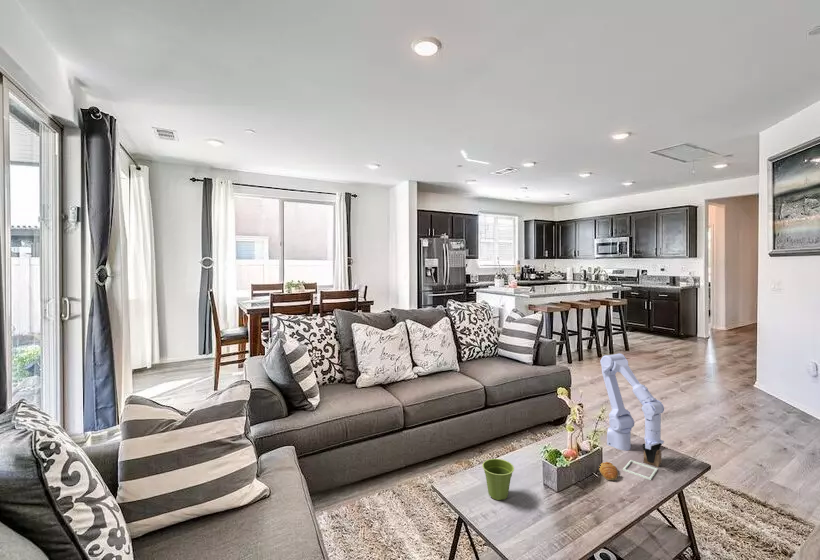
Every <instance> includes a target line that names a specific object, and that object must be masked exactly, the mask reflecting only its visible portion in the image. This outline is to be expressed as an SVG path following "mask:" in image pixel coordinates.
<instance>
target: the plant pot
mask: <svg viewBox="0 0 820 560" xmlns="http://www.w3.org/2000/svg"><path fill="white" fill-rule="evenodd" d="M481 465H482V466H481V467H482V469H483V470H484V476H485V480H486V485H487V486H486V487H487V492H488V495H489V497H490V496H491V497H492V498H491V497H490V498H491V499H493V500H497V501H501V500H506V499H508V496H509V490H510V484H511V478H512V476H513V473H514V471H515V467H514V465H513V464H512V463H511V462H509V461H507V460H505V459H502V458H490V459H485V460H484V461H483V463H482V464H481Z"/></svg>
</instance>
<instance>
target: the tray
mask: <svg viewBox="0 0 820 560" xmlns="http://www.w3.org/2000/svg"><path fill="white" fill-rule="evenodd" d="M631 463H632V464H635V465H638V466H641V467H644V468H648V469H651V470H653V471H652V473H651V474H650V476H646V475H643V474H640V473H638V472H634V471H632V470H629V469H627V468H628V467H629V466H630V465H631ZM622 471H623V472H626V473H629V474H631V475H635V476H637V477H640V478H644V479H645V480H649V481H651V480H652V479H653V477H654V476H655V475H656V473H657V471H658V467H655V466H652V465H649V464H646V463H643V462H638V461H635V460H633V459H630V460H629V461H628V462H627V464H625V466H624V467H623V468H622Z"/></svg>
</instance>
